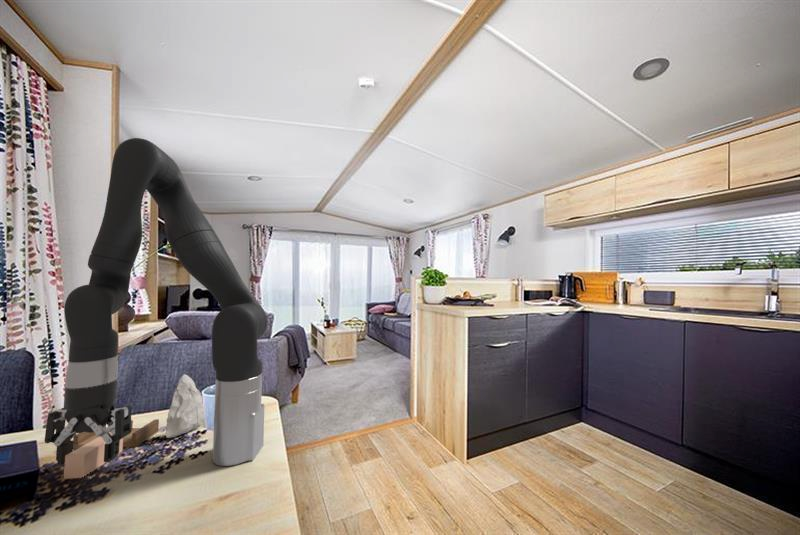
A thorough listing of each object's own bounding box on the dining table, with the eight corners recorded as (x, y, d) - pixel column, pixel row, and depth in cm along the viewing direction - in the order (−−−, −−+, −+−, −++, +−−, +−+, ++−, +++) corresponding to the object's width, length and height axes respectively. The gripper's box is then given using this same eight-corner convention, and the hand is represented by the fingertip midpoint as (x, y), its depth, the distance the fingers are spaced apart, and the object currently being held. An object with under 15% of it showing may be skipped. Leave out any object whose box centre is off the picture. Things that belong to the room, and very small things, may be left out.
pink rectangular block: (122, 452, 66) (123, 431, 66) (82, 478, 57) (84, 454, 57) (106, 452, 65) (107, 432, 66) (63, 479, 56) (65, 455, 57)
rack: (158, 431, 75) (158, 419, 75) (136, 446, 68) (136, 433, 68) (101, 433, 73) (102, 421, 74) (72, 449, 66) (73, 435, 67)
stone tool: (168, 443, 69) (171, 379, 70) (162, 440, 70) (165, 377, 71) (206, 428, 76) (209, 370, 77) (200, 425, 78) (202, 368, 79)
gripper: (143, 373, 65) (139, 449, 64) (73, 375, 63) (68, 452, 63) (113, 385, 57) (108, 471, 56) (33, 387, 56) (27, 475, 55)
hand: (87, 461), depth 59 cm, fingers open, 8 cm apart
